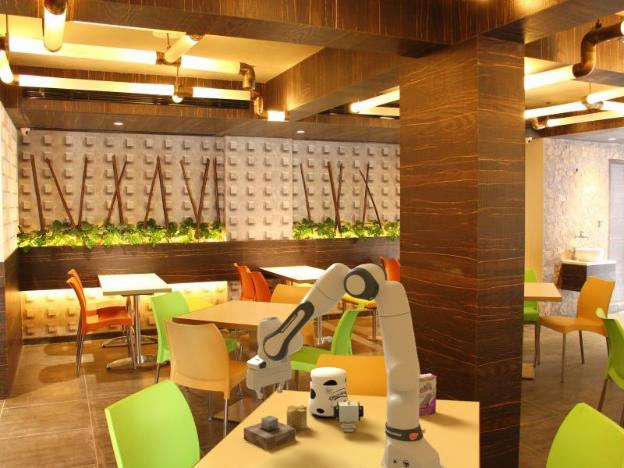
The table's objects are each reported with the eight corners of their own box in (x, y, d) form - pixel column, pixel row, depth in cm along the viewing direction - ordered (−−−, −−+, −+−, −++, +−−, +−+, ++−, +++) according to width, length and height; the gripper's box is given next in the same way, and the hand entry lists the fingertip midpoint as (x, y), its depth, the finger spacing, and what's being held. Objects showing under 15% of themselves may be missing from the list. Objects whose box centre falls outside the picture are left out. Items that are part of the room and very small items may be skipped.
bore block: (295, 438, 230) (295, 428, 229) (267, 449, 220) (267, 438, 220) (271, 428, 240) (271, 419, 239) (243, 438, 230) (243, 428, 230)
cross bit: (311, 428, 241) (311, 408, 240) (296, 433, 235) (296, 413, 234) (297, 422, 247) (297, 403, 246) (281, 427, 241) (281, 408, 241)
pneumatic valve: (363, 432, 236) (363, 402, 235) (333, 433, 235) (333, 403, 235) (362, 427, 241) (362, 398, 241) (333, 427, 241) (333, 398, 240)
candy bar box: (414, 417, 253) (415, 379, 252) (408, 413, 257) (408, 375, 256) (436, 413, 257) (437, 375, 256) (429, 409, 262) (430, 372, 261)
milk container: (346, 421, 247) (346, 378, 247) (304, 419, 251) (304, 376, 250) (350, 407, 264) (350, 367, 264) (312, 405, 268) (312, 365, 267)
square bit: (278, 438, 230) (277, 418, 229) (268, 442, 227) (268, 421, 226) (270, 435, 233) (270, 415, 233) (261, 438, 230) (261, 418, 230)
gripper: (284, 353, 238) (285, 387, 238) (243, 363, 224) (244, 399, 224) (295, 356, 233) (296, 391, 234) (253, 366, 219) (254, 403, 220)
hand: (270, 395), depth 229 cm, fingers open, 8 cm apart
